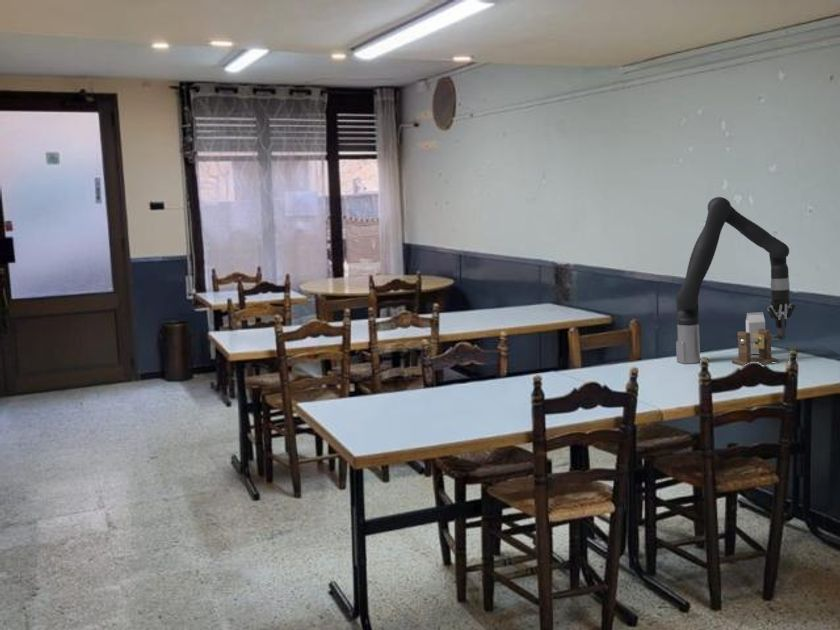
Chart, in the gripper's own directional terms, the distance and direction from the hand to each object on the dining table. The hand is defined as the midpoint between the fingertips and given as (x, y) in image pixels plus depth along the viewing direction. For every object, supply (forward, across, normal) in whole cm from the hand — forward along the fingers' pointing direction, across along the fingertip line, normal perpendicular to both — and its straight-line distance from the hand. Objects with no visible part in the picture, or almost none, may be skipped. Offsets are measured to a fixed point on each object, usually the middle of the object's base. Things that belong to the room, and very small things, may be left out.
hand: (781, 327), depth 367 cm
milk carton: (+14, 0, +18) cm, 23 cm away
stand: (+14, -13, 0) cm, 19 cm away
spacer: (+8, -11, 0) cm, 14 cm away
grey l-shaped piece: (+5, -10, 0) cm, 11 cm away
